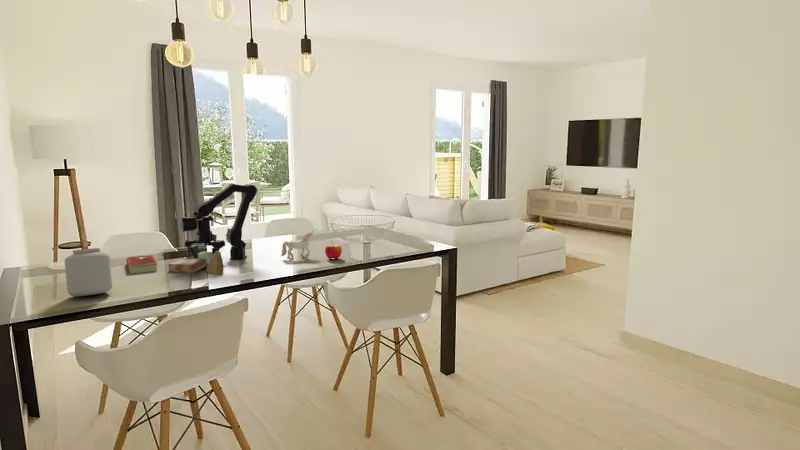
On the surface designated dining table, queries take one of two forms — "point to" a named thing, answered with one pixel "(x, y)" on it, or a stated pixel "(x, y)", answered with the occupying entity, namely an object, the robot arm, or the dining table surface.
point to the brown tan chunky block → (215, 264)
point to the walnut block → (187, 265)
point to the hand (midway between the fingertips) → (205, 260)
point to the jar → (88, 272)
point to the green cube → (205, 256)
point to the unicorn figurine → (297, 246)
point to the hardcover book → (141, 264)
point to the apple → (333, 251)
